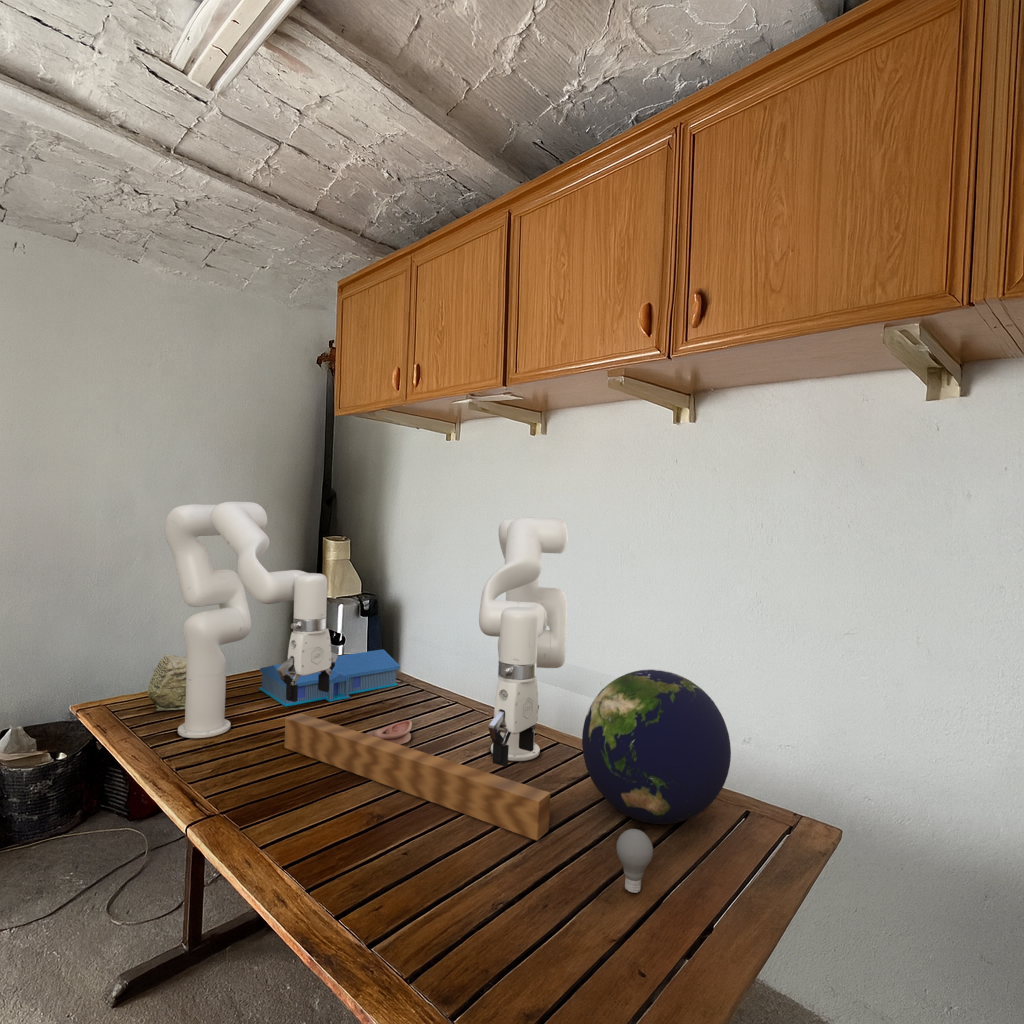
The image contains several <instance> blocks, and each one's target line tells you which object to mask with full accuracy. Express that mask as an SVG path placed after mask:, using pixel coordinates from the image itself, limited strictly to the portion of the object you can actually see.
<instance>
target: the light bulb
mask: <svg viewBox="0 0 1024 1024" xmlns="http://www.w3.org/2000/svg"><path fill="white" fill-rule="evenodd" d="M615 849H616V854H617V857H618V859H619V861H620V863H621V865H622V867H623V873H624V874H623V875H624V876H625V878H624V888H625V890H627V891H628V892H630V893H634V894H635V893H639V892H640V891H641V889H642V887H641V886H642V879H643V877H644V875H645V871H646V868H647V867H648V866H649V864H650V863H651V861H652V859H653V855H654V847H653V843H652V841H651V838H649V836H648V835H647V834H646V833H645V832H643V831H642V830H641V829H636V828H629V829H627V830H625V831H623V832H622V833H621V834H620V835H619V837H618V839H617V841H616V847H615Z"/></svg>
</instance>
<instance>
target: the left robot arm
mask: <svg viewBox="0 0 1024 1024" xmlns="http://www.w3.org/2000/svg"><path fill="white" fill-rule="evenodd" d="M267 524H268V515H267V512H266V510H265V509H264V507H263V506H261V505H260V504H259V503H257V502H253V501H225V502H221V503H218V504H204V503H203V504H202V503H191V504H190V503H189V504H183V505H179V506H176V507H174V508H173V509H172V510H170V512H169V513H168V515H167V516H166V519H165V523H164V535H165V536H164V537H165V540H166V542H167V546H168V547H169V550H170V552H171V554H172V557H173V561H174V564H175V569H176V573H177V574H176V575H177V579H178V584H179V588H180V592H181V596H182V598H183V601H184V603H185V604H186V605H187V606H188V607H190V608H203V607H210V606H216V605H218V607H219V608H215V609H209V610H204V611H199V612H196V613H194V614H192V615H191V616H189V617H188V618H187V619H186V620H185V622H184V624H183V629H182V631H183V632H182V634H183V639H184V646H185V653H186V654H185V657H187V666H186V701H185V709H184V722H182V724H180V725H179V726H178V727H177V734H178V735H179V736H180V737H182V738H188V739H207V738H212V737H216V736H220V735H222V734H224V733H227V732H228V731H230V729H231V727H232V725H231V723H232V722H231V721H230V720H228V719H226V718H225V715H226V692H227V691H226V689H227V659H226V657H225V655H224V653H223V652H222V650H221V647H220V646H222V645H226V644H230V643H235V642H239V641H242V640H244V639H245V638H247V637H248V636H249V634H250V633H251V630H252V618H251V617H252V616H251V612H250V607H249V603H248V599H247V594H246V590H247V591H248V593H249V594H250V595H251V596H252V597H253V598H254V599H255V600H256V601H258V602H259V603H261V604H264V605H273V604H278V603H286V602H293V623H292V622H291V623H290V628H291V629H292V631H291V634H290V638H289V643H288V649H287V660H286V661H284V662H283V663H281V664H282V665H281V666H280V667H279V668H278V669H277V670H278V673H279V675H280V678H281V679H282V680H283V681H284V683H285V684H286V700H288V701H292V702H297V697H298V685H296V682H297V680H298V679H299V677H300V676H307V675H310V674H314V673H318V672H320V673H321V674H319V676H318V690H320V691H324V692H329V675H331V674H332V670H333V668H334V666H335V662H336V660H337V657H338V656H339V655H338V654H336V653H334V652H332V641H331V636H330V631H329V628H327V605H328V600H327V599H328V578H327V576H326V574H323V573H317V572H306V571H303V570H300V569H299V570H298V569H288V570H279V571H268V570H267V569H266V568H265V567H264V566H263V564H262V563H261V562H260V561H259V558H260V557H262V556H263V555H264V554H265V552H266V551H267V550H268V549H269V546H270V541H271V540H270V537H269V536H268V535H267V534H266V533H265V531H264V529H265V528H266V526H267ZM210 536H221V538H222V539H223V540H224V541H225V543H226V544H227V545H228V546H229V547H230V548H231V550H232V551H233V552H234V553H235V554H236V556H237V557H238V558H237V559H238V560H237V564H236V565H237V572H235V571H234V570H232V569H229V568H219V569H214V566H213V564H212V559H211V554H210V553H209V551H208V549H207V548H206V546H205V545H204V544H203V543H202V542H201V541H200V540H199V539H198V537H210ZM245 589H246V590H245ZM287 669H288V672H289V673H288V675H287ZM293 675H294V677H293ZM292 677H293V678H292Z"/></svg>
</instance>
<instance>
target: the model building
mask: <svg viewBox="0 0 1024 1024" xmlns="http://www.w3.org/2000/svg"><path fill="white" fill-rule="evenodd" d="M337 656H338V657H337V660H336V662H335V666H334V668H333V670H332V674H331V675H329V692H324V691H320V690H318V676H319V674H321V673H320V672H318V673H314V674H310V675H307V676H300V677H299V679H298V680H297V682H296V685H298V697H297V702H292V701H288V700H286V684H285V683H284V681H283V680H282V679H281V678H280V675H279V673H278V670H277V669H278V668H279V667H280V666H281V665H282V664H283V663H278V664H272V665H268V666H264V667H263V666H262V667H260V668H259V672H260V673H261V686H260V687H258V690H260V691H261V692H262V693H264V694H265V695H267V696H268V697H270V698H271V699H273V700H274V701H276V702H277V703H279V704H280V705H282V706H283V707H290V706H297V705H302V704H307V703H312V702H317V701H323V700H325V701H327V702H329V703H330V702H335V701H341V700H346V699H347V700H348V699H350V698H351V695H353V694H359V693H364V692H365V693H366V692H369V691H373V690H381V689H385V688H390V687H391V688H392V687H395V686H399V683H398V682H397V670H400V669H401V665H400V664H399V663H398V662H397V661H396V660H395V659H394V658H393V657H392V656H391V654H389V653H388V652H387V651H386V650H385V649H376V650H368V651H363V652H356V653H349V654H342V655H341V654H340V655H337ZM288 673H289V672H288V669H287V675H288ZM293 677H294V675H293ZM293 677H292V678H293Z"/></svg>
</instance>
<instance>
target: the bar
mask: <svg viewBox="0 0 1024 1024" xmlns="http://www.w3.org/2000/svg"><path fill="white" fill-rule="evenodd" d="M284 749H286V750H290V751H292V752H295V753H297V754H301V755H303V756H306V757H308V758H310V759H314V760H317V761H320V762H322V763H325V764H328V765H330V766H333V767H336V768H338V769H341V770H344V771H346V772H349V773H352V774H355V775H358V776H360V777H363V778H364V779H365V778H366V779H368V780H371V781H374V782H377V783H379V784H382V785H385V786H386V787H387V786H388V787H390V788H393V789H396V790H398V791H401V792H404V793H406V794H409V795H411V796H414V797H417V798H420V799H422V800H425V801H428V802H431V803H434V804H437V805H439V806H442V807H444V808H447V809H450V810H453V811H455V812H458V813H461V814H464V815H466V816H468V817H471V818H474V819H477V820H480V821H483V822H485V823H488V824H490V825H493V826H496V827H499V828H501V829H504V830H507V831H509V832H512V833H515V834H518V835H520V836H523V837H526V838H528V839H531V840H534V841H539V840H541V838H542V837H544V835H546V834H547V833H548V832H549V831H550V817H551V815H550V814H551V795H552V794H551V792H549V791H546V790H544V789H540V788H537V787H533V786H530V785H527V784H525V783H521V782H518V781H515V780H512V779H509V778H505V777H503V776H499V775H496V774H493V773H491V772H487V771H484V770H481V769H477V768H474V767H471V766H468V765H465V764H461V763H458V762H457V761H456V762H455V761H453V760H449V759H446V758H443V757H441V756H437V755H433V754H429V753H427V752H424V751H421V750H417V749H414V748H411V747H408V746H405V745H403V744H400V745H399V744H396V743H393V742H390V741H386V740H383V739H380V738H377V737H374V736H371V735H368V734H365V733H364V732H361V731H358V730H355V729H352V728H348V727H345V726H342V725H340V724H336V723H333V722H329V721H327V720H324V719H321V718H317V717H314V716H311V715H307V714H304V713H302V712H300V713H296V714H293V715H289V716H288V717H285V721H284Z"/></svg>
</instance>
